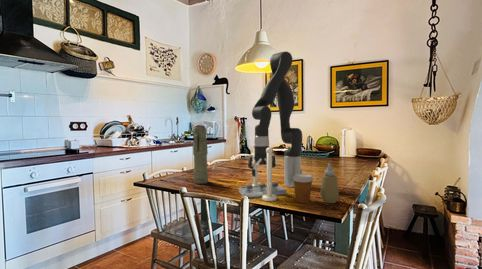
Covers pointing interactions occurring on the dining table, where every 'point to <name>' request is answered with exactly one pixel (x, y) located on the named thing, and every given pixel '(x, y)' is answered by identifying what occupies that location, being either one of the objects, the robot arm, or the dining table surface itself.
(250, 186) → the paddle
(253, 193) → the breaker panel
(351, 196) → the dining table surface
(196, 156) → the thermos
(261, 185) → the middle paddle
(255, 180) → the far post
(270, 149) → the near post
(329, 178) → the squeeze bottle
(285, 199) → the dining table surface
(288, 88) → the robot arm
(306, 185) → the disposable coffee cup
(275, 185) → the paddle
